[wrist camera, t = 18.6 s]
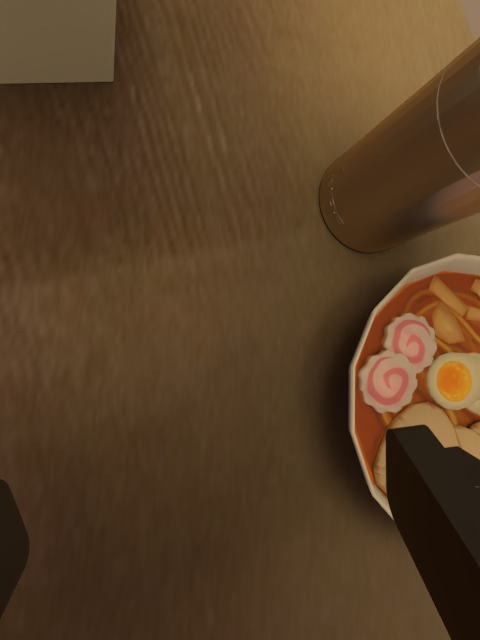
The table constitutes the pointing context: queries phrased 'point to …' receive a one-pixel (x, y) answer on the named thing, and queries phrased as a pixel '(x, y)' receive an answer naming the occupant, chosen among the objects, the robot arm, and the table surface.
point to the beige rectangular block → (57, 41)
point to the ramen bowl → (418, 365)
